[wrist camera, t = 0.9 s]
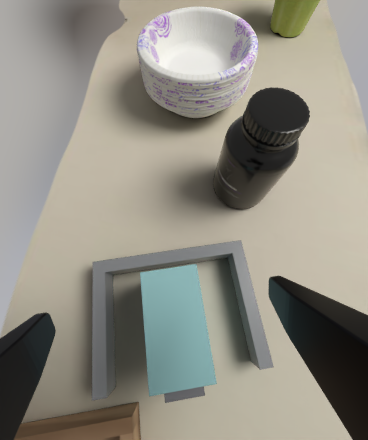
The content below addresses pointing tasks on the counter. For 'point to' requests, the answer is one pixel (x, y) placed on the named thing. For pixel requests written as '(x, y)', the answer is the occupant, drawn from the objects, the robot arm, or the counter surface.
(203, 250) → the bay
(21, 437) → the tray
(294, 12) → the plant pot
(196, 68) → the paper bowls
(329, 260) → the counter surface
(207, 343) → the tall aqua prism
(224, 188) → the supplement bottle
